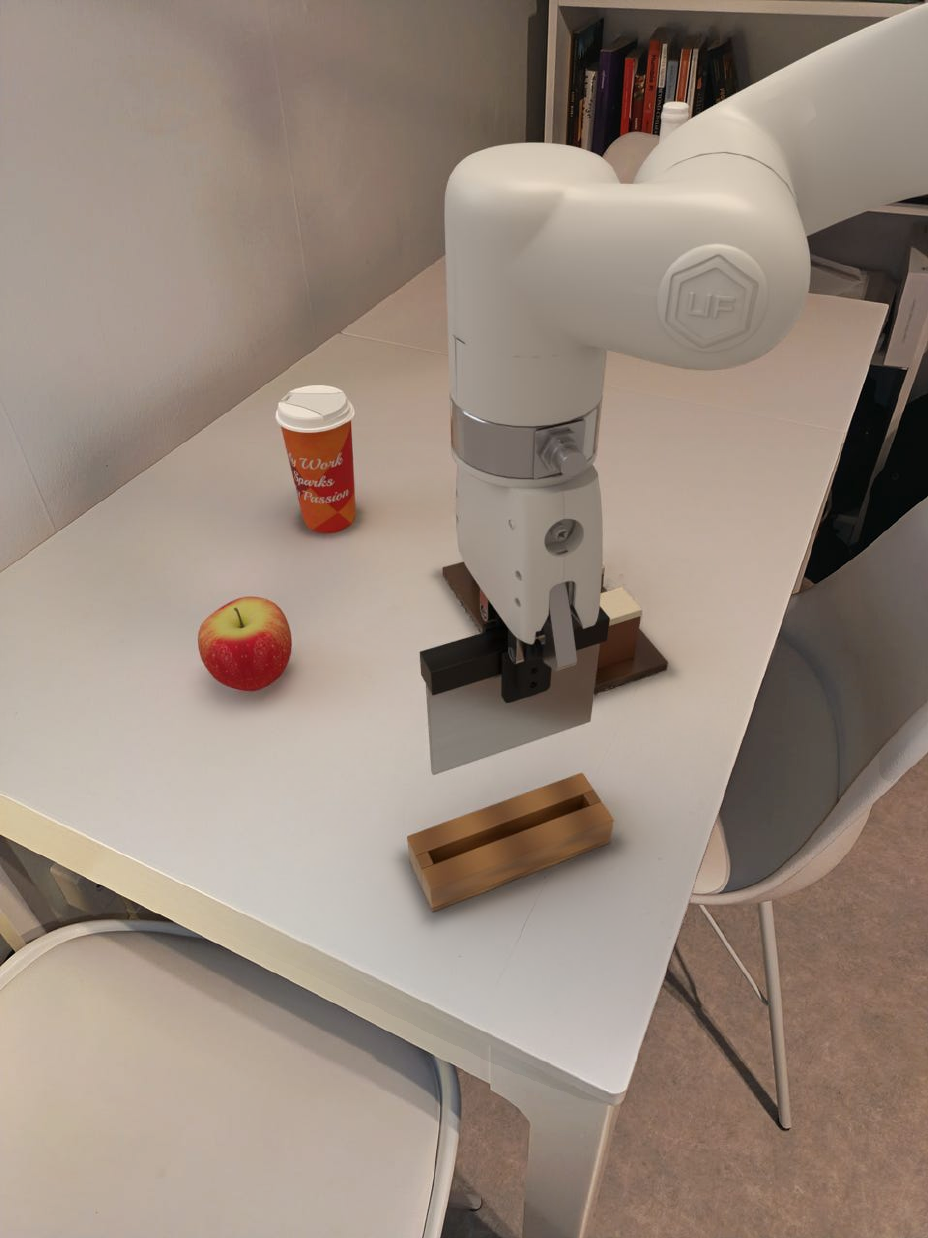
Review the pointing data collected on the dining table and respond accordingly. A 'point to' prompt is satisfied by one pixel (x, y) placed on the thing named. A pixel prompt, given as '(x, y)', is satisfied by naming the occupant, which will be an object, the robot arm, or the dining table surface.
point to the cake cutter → (477, 714)
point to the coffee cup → (320, 454)
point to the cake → (606, 677)
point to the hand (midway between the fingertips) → (516, 678)
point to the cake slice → (619, 627)
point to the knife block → (508, 840)
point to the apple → (246, 643)
